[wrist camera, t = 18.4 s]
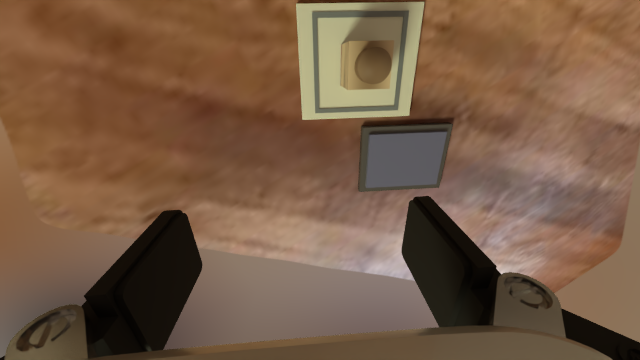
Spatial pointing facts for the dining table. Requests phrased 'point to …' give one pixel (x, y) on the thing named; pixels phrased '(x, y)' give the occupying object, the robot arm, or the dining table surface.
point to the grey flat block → (402, 156)
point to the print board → (325, 57)
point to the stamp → (366, 64)
